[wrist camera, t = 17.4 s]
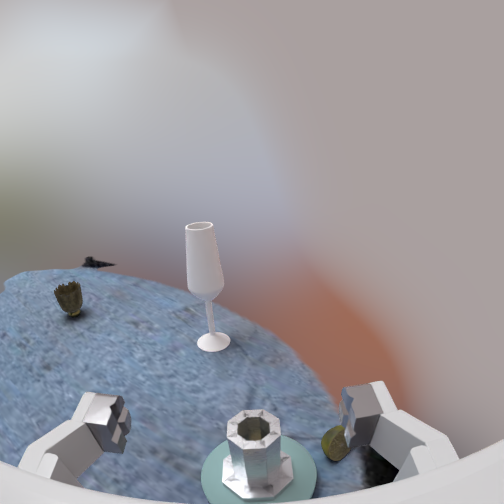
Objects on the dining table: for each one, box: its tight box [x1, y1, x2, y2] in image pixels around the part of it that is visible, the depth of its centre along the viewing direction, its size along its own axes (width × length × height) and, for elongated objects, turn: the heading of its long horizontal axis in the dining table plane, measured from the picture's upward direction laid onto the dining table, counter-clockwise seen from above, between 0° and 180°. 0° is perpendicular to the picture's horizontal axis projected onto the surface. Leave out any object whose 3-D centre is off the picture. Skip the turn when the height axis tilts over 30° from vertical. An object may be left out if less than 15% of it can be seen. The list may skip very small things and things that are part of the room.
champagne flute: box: [185, 222, 230, 352], centre depth 59 cm, size 7×7×24 cm
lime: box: [321, 425, 351, 461], centre depth 36 cm, size 4×5×5 cm
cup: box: [54, 281, 83, 317], centre depth 72 cm, size 8×7×8 cm
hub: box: [201, 435, 317, 504], centre depth 32 cm, size 14×14×6 cm
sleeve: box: [222, 409, 294, 502], centre depth 30 cm, size 8×8×10 cm
